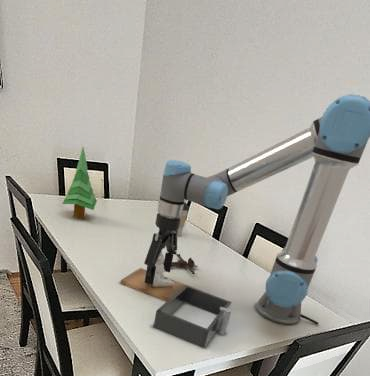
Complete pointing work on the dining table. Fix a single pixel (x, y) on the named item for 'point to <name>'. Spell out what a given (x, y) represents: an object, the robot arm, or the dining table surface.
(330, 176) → the robot arm
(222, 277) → the dining table surface
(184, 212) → the coffee cup
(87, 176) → the decorative tree
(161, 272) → the white creature statuette
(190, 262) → the brown humanoid figurine
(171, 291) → the board
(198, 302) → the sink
